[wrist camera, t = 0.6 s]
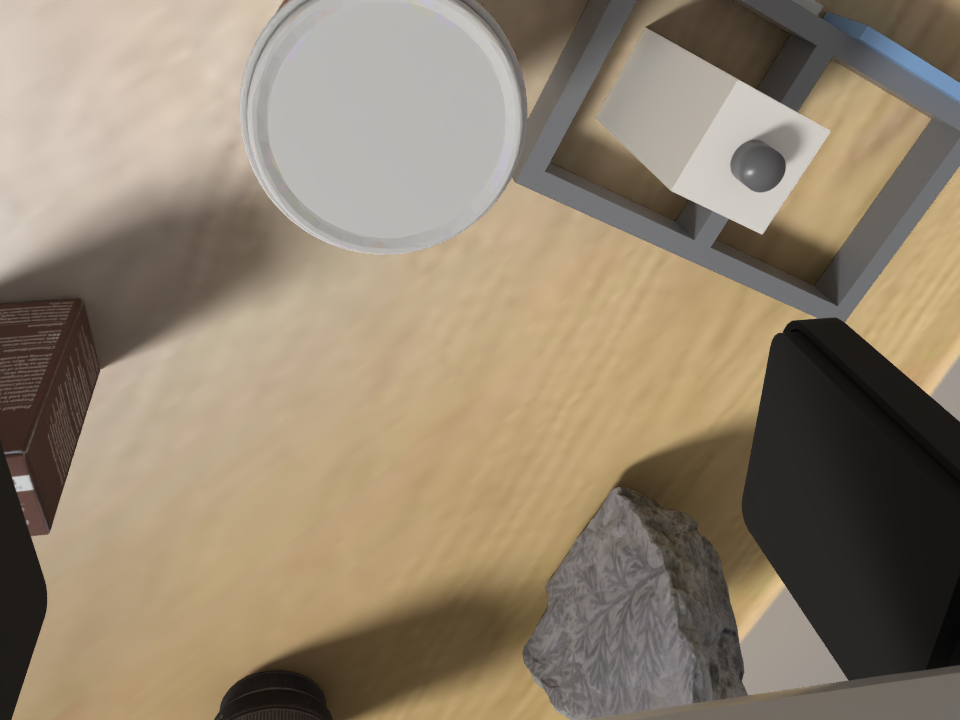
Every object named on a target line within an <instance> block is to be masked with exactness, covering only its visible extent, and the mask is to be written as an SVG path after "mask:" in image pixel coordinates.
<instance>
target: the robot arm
mask: <svg viewBox="0 0 960 720" xmlns="http://www.w3.org/2000/svg"><path fill="white" fill-rule="evenodd" d="M742 513H743V518H744V521H745V524H746V526H747V528H748V530H749V532H750V533H751V535H752V536H753V538H754V539H755V541H756V542H757V544H758V545H759V547H760V548H761V550H762V551H763V553H764V554H765V556H766V557H767V559H768V560H769V562H770V563H771V565H772V566H773V568H774V569H775V571H776V572H777V574H778V575H779V577H780V578H781V580H782V581H783V583H784V584H785V586H786V587H787V589H788V590H789V592H790V593H791V594H792V596H793V598H794V599H795V600H796V602H797V604H798V605H799V607H800V608H801V610H802V611H803V613H804V614H805V616H806V617H807V619H808V620H809V622H810V623H811V625H812V626H813V628H814V629H815V631H816V632H817V634H818V635H819V637H820V638H821V640H822V641H823V642H824V644H825V646H826V647H827V648H828V650H829V652H830V653H831V655H832V656H833V657H834V659H835V660H836V662H837V664H838V665H839V667H840V668H841V670H842V671H843V673H844V674H845V676H846V677H847V679H848V680H849V681H843V682H836V683H830V684H823V685H816V686H809V687H802V688H796V689H789V690H782V691H775V692H768V693H762V694H754V695H748V696H741V697H734V698H727V699H720V700H714V701H707V702H700V703H693V704H686V705H680V706H673V707H666V708H659V709H653V710H646V711H639V712H633V713H626V714H620V715H613V716H607V717H600V718H593V719H587V720H960V422H959V421H958V420H957V419H956V418H955V417H953V416H952V415H951V414H950V413H949V412H948V411H946V410H945V409H944V408H943V407H942V406H941V405H940V404H938V403H937V402H936V401H935V400H934V399H933V398H931V397H930V396H929V395H928V394H927V393H926V392H924V391H923V390H922V389H921V388H920V387H919V386H917V385H916V384H915V383H914V382H913V381H912V380H910V379H909V378H908V377H907V376H906V375H905V374H904V373H902V372H901V371H900V370H899V369H898V368H897V367H895V366H894V365H893V364H892V363H891V362H890V361H888V360H887V359H886V358H885V357H884V356H883V355H881V354H880V353H879V352H878V351H877V350H876V349H875V348H873V347H872V346H871V345H870V344H869V343H868V342H866V341H865V340H864V339H863V338H862V337H861V336H859V335H858V334H857V333H856V332H855V331H854V330H852V329H851V328H850V327H849V326H848V325H847V324H846V323H844V322H843V321H842V320H840V319H838V318H837V317H835V318H820V319H808V320H796V321H791V322H790V323H788V324H787V326H786V327H785V329H784V331H783V333H778V334H777V335H775V336H774V338H773V340H772V343H771V346H770V352H769V357H768V363H767V368H766V374H765V379H764V384H763V390H762V395H761V401H760V406H759V412H758V417H757V422H756V428H755V433H754V439H753V444H752V450H751V455H750V460H749V466H748V471H747V477H746V482H745V487H744V493H743V498H742ZM46 608H47V589H46V584H45V580H44V576H43V573H42V570H41V567H40V564H39V561H38V558H37V554H36V551H35V548H34V545H33V542H32V539H31V536H30V532H29V529H28V526H27V523H26V520H25V517H24V514H23V510H22V507H21V504H20V501H19V498H18V495H17V492H16V488H15V485H14V482H13V479H12V476H11V473H10V470H9V466H8V463H7V460H6V457H5V454H4V451H3V448H2V444H1V441H0V720H11V719H12V716H13V713H14V710H15V707H16V704H17V701H18V697H19V694H20V691H21V688H22V685H23V682H24V679H25V676H26V673H27V670H28V667H29V664H30V661H31V658H32V654H33V651H34V648H35V645H36V642H37V639H38V636H39V633H40V630H41V627H42V624H43V621H44V618H45V614H46Z"/></svg>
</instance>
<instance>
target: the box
mask: <svg viewBox="0 0 960 720" xmlns="http://www.w3.org/2000/svg"><path fill="white" fill-rule="evenodd" d="M99 372H100V368H99V364H98V360H97V356H96V352H95V347H94V343H93V339H92V335H91V331H90V327H89V323H88V319H87V315H86V311H85V306H84V303H83V300H81V299H72V300H56V301H41V302H27V303H13V304H0V441H1V444H2V448H3V451H4V454H5V457H6V460H7V463H8V466H9V470H10V473H11V476H12V479H13V482H14V485H15V488H16V492H17V495H18V498H19V501H20V504H21V507H22V510H23V514H24V517H25V520H26V523H27V526H28V529H29V532H30V536H36V535H47V534H49V533H50V530H51V527H52V523H53V520H54V517H55V513H56V510H57V507H58V503H59V500H60V497H61V494H62V491H63V488H64V484H65V481H66V478H67V475H68V472H69V468H70V465H71V462H72V458H73V456H74V452H75V449H76V446H77V442H78V439H79V436H80V433H81V430H82V426H83V423H84V420H85V417H86V413H87V410H88V407H89V404H90V401H91V398H92V394H93V391H94V388H95V385H96V382H97V379H98V375H99Z"/></svg>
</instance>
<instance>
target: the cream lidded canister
mask: <svg viewBox="0 0 960 720" xmlns="http://www.w3.org/2000/svg"><path fill="white" fill-rule="evenodd" d="M239 111H240V126H241V132H242V138H243V142H244V146H245V149H246V153H247V156H248V159H249V162H250V164H251V167H252V169H253V172H254V174H255V175H256V177H257V179H258V181H259V183H260V185H261V186H262V188H263V189H264V191H265V192H266V194H267V195H268V197H269V198H270V199H271V200H272V202H273V203H274V204H275V205H276V206H277V207H278V209H279V210H280V211H281V212H282V213H283V214H284V215H286V216H287V217H288V218H289V219H290V220H291V221H292V222H293V223H295V224H296V225H297V226H299V227H300V228H301V229H303V230H304V231H306V232H308V233H309V234H311V235H312V236H314V237H316V238H318V239H320V240H322V241H324V242H326V243H328V244H331V245H334V246H337V247H339V248H342V249H346V250H350V251H354V252H360V253H366V254H379V255H389V254H402V253H409V252H414V251H418V250H422V249H426V248H429V247H432V246H435V245H437V244H440V243H442V242H444V241H446V240H449V239H451V238H453V237H455V236H456V235H458V234H459V233H461V232H463V231H464V230H466V229H467V228H469V227H470V226H471V225H472V224H474V223H475V222H476V221H478V220H479V219H480V218H481V217H482V216H483V215H484V214H485V213H486V212H487V211H488V210H489V209H490V208H491V207H492V205H493V204H494V203H495V202H496V201H497V200H498V198H499V197H500V195H501V194H502V193H503V191H504V190H505V188H506V186H507V185H508V183H509V181H510V179H511V178H512V176H513V174H514V171H515V169H516V167H517V165H518V162H519V159H520V156H521V153H522V150H523V145H524V140H525V136H526V127H527V98H526V89H525V84H524V80H523V75H522V71H521V68H520V65H519V62H518V59H517V57H516V54H515V52H514V50H513V48H512V46H511V44H510V42H509V40H508V38H507V37H506V35H505V34H504V32H503V30H502V29H501V27H500V26H499V25H498V23H497V22H496V21H495V20H494V18H493V17H492V16H491V15H490V14H489V13H488V12H487V11H486V10H485V8H484V7H483V6H482V5H481V4H479V3H478V2H477V1H476V0H284V1H283V2H282V4H281V5H280V7H279V9H278V10H277V12H276V14H275V15H274V16H273V17H272V18H271V20H270V21H269V22H268V24H267V25H266V27H265V28H264V29H263V31H262V32H261V34H260V36H259V37H258V39H257V41H256V43H255V45H254V47H253V49H252V51H251V54H250V56H249V58H248V61H247V64H246V68H245V71H244V74H243V79H242V85H241V90H240V105H239Z"/></svg>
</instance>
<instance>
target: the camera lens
mask: <svg viewBox="0 0 960 720" xmlns="http://www.w3.org/2000/svg"><path fill="white" fill-rule="evenodd" d="M214 720H333V719H332V716H331V714H330V712H329V710H328V709H327V708H326V700H325V696H324V694H323V692H322V690H321V689H320V688H319V686H318V685H317V684H315V683H314V682H313V681H311V680H310V679H308V678H306V677H304V676H301V675H299V674H295V673H291V672H265V673H259V674H255V675H253V676H250V677H247V678H245V679H243V680H241V681H240V682H238V683H236V684H235V685H234V686H233V687H232V688H231V689H229V690H228V692H227V693H226V695H225V696H224V697H223V700H222V702H221V705H220V711H219V713H218V714H217V716H216V717H215V719H214Z"/></svg>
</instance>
